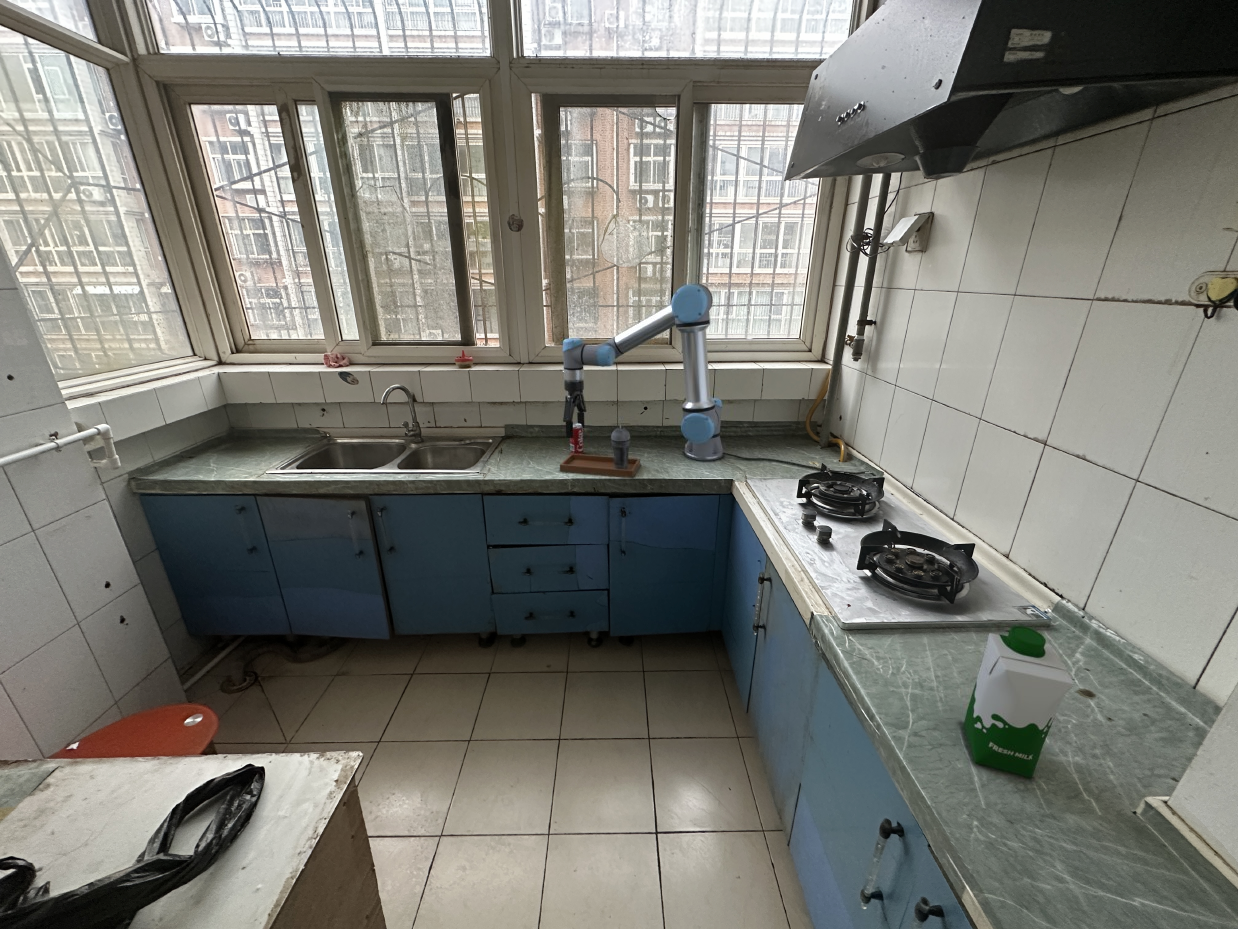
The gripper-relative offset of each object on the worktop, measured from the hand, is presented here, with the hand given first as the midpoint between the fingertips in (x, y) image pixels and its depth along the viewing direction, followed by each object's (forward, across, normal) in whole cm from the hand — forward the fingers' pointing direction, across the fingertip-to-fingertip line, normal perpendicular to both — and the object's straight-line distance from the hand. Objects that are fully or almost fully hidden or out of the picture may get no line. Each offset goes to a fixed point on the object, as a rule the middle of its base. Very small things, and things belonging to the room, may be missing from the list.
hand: (575, 432), depth 199 cm
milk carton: (+8, +112, +106) cm, 155 cm away
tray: (+9, +14, +14) cm, 21 cm away
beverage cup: (+8, +14, +22) cm, 27 cm away
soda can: (+9, 0, 0) cm, 9 cm away
